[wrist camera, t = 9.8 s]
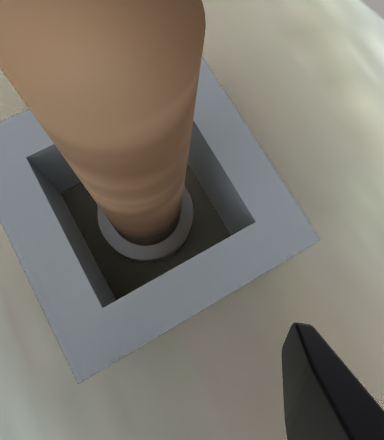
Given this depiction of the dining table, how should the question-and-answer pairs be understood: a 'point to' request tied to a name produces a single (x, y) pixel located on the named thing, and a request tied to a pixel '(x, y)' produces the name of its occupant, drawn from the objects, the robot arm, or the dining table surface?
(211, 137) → the tool holder
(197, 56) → the cleaning tool
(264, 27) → the dining table surface
